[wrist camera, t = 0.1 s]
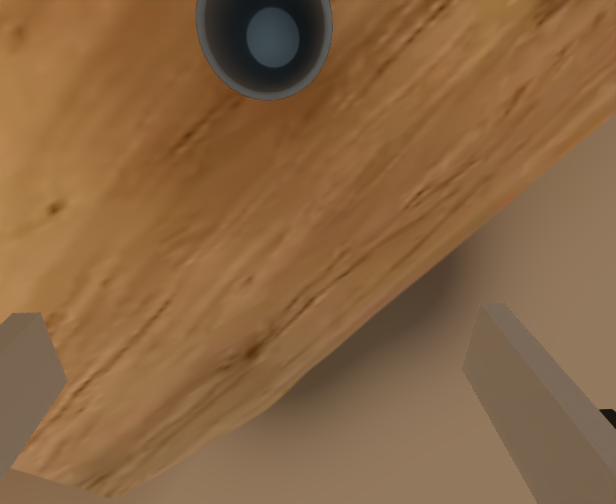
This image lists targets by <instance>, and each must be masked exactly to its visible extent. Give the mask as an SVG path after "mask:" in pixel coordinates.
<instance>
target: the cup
mask: <svg viewBox="0 0 616 504" xmlns="http://www.w3.org/2000/svg"><path fill="white" fill-rule="evenodd" d="M196 28H197V33H198V38H199V43H200V45H201V48H202V51H203V53H204V56H205V58H206V59H207V61H208V63H209V65H210V66H211V68H212V70H213V71H214V72H215V73H216V74H217V76H218V77H219V78H220V79H221V80H222V81H223V82H224V83H225V84H227V85H228V86H229V87H230V88H231V89H233V90H235V91H237V92H238V93H240V94H242V95H244V96H247V97H250V98H253V99H258V100H267V101H269V100H279V99H283V98H286V97H289V96H292V95H294V94H295V93H297V92H299V91H301V90H302V89H304V88H305V87H306V86H307V85H308V84H309V83H310V82H312V81H313V79H314V78H315V77H316V75H317V74H318V73H319V71H320V70H321V68H322V66H323V64H324V62H325V60H326V58H327V55H328V52H329V48H330V45H331V39H332V30H333V25H332V11H331V7H330V2H329V0H197V7H196Z"/></svg>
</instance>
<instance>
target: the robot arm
mask: <svg viewBox="0 0 616 504" xmlns="http://www.w3.org/2000/svg"><path fill="white" fill-rule="evenodd" d="M462 370H463V372H464V374H465V376H466V377H467V379H468V381H469V382H470V384H471V386H472V388H473V390H474V392H475V393H476V395H477V397H478V399H479V400H480V402H481V404H482V406H483V407H484V409H485V411H486V413H487V414H488V416H489V418H490V420H491V422H492V423H493V425H494V427H495V429H496V431H497V432H498V434H499V436H500V438H501V439H502V441H503V443H504V445H505V447H506V448H507V450H508V452H509V454H510V456H511V457H512V459H513V461H514V463H515V464H516V466H517V468H518V470H519V472H520V473H521V475H522V477H523V479H524V480H525V482H526V484H527V486H528V488H529V489H530V491H531V493H532V495H533V496H534V498H535V500H536V502H537V504H616V412H615V411H614V410H612V409H601V410H598V409H597V408H596V406H595V405H594V404H593V403H592V402H591V401H590V400H589V398H588V397H587V396H586V395H585V394H584V393H583V392H582V391H581V389H580V388H579V387H578V386H577V385H576V384H575V383H574V381H573V380H572V379H571V378H570V377H569V376H568V375H567V373H565V371H564V370H563V369H562V368H561V367H560V366H559V364H558V363H557V362H556V361H555V360H554V359H553V358H552V357H551V356H550V354H549V353H548V352H547V351H546V350H545V349H544V347H543V346H542V345H541V344H540V343H539V342H538V341H537V339H535V337H534V336H533V335H532V334H531V333H530V332H529V330H528V329H527V328H526V327H525V326H524V325H523V324H522V323H521V321H520V320H519V319H518V318H517V317H516V316H515V314H514V313H513V312H512V311H511V310H510V309H509V308H508V307H507V306H506V304H505V303H480V307H479V310H478V314H477V317H476V321H475V325H474V328H473V331H472V335H471V339H470V342H469V346H468V349H467V353H466V356H465V360H464V364H463V367H462ZM66 383H67V378H66V376H65V373H64V371H63V368H62V366H61V363H60V361H59V358H58V356H57V353H56V350H55V348H54V345H53V343H52V340H51V338H50V335H49V333H48V330H47V328H46V325H45V323H44V320H43V318H42V315H41V313H12V314H11V315H10V316H9V317H8V318H7V319H6V320H5V321H4V322H3V323H2V324H1V325H0V482H1V480H2V479H3V477H4V476H5V475H6V473H7V472H8V470H9V469H10V467H11V466H12V464H13V463H14V461H15V460H16V458H17V457H18V455H19V454H20V452H21V451H22V449H23V448H24V446H25V445H26V443H27V442H28V440H29V439H30V437H31V435H32V434H33V432H34V431H35V429H36V428H37V426H38V425H39V423H40V422H41V420H42V419H43V417H44V416H45V414H46V413H47V411H48V410H49V408H50V407H51V405H52V404H53V402H54V401H55V399H56V398H57V396H58V395H59V393H60V392H61V390H62V389H63V387H64V386H65V384H66Z"/></svg>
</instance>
